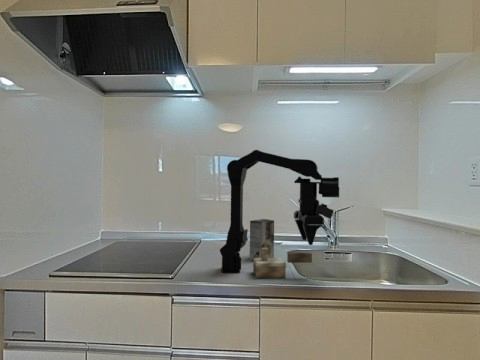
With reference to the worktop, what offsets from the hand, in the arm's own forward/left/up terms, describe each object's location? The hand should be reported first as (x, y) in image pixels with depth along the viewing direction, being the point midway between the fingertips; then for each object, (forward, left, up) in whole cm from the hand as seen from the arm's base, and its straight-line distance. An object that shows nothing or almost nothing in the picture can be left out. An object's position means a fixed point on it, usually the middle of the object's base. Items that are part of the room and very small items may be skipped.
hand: (307, 242), depth 126 cm
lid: (-13, +3, -8) cm, 15 cm away
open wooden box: (-13, +3, -12) cm, 18 cm away
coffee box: (-12, +28, -12) cm, 33 cm away
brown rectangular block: (-3, 0, -7) cm, 7 cm away
